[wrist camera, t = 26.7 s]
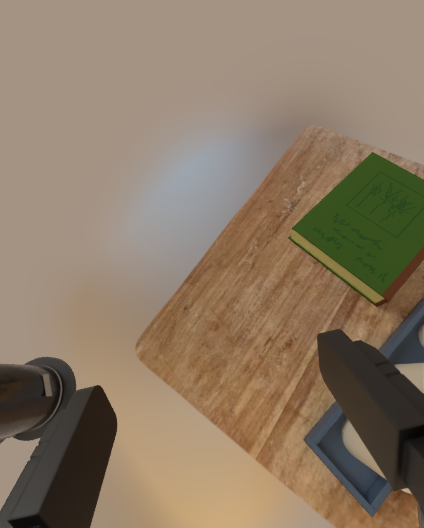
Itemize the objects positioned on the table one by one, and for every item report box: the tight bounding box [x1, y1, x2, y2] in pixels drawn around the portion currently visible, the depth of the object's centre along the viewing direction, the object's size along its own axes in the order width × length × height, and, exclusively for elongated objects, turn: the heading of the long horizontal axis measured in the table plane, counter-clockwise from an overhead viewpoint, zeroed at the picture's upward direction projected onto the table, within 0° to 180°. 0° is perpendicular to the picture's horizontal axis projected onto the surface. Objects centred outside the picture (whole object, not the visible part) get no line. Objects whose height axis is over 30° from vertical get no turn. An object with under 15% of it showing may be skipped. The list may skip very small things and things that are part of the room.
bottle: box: [341, 418, 412, 494], centre depth 28 cm, size 6×6×14 cm
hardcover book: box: [289, 152, 424, 307], centre depth 46 cm, size 25×19×4 cm
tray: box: [303, 299, 424, 517], centre depth 36 cm, size 30×10×3 cm, turn 132°
